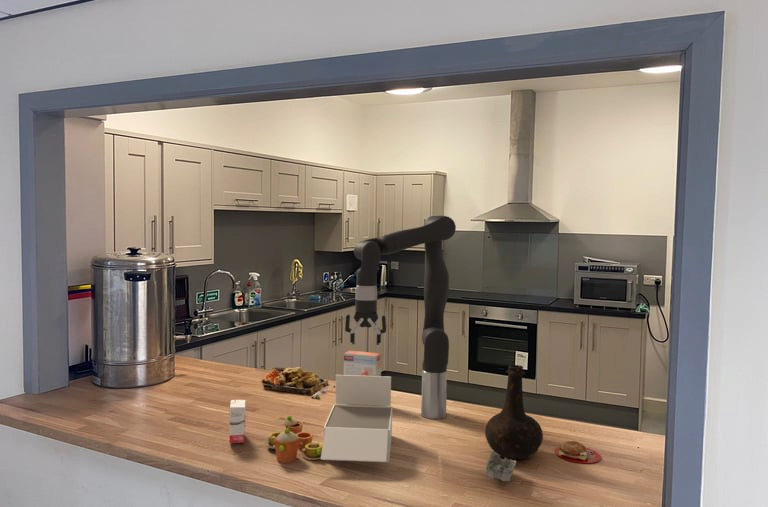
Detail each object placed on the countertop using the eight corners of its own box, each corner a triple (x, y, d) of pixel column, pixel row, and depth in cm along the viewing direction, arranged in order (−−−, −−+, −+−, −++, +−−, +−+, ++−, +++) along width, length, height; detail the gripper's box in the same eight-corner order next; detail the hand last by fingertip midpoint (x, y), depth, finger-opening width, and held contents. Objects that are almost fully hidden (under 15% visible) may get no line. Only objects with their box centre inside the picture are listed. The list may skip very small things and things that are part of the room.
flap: (390, 405, 189) (391, 395, 197) (391, 377, 187) (391, 368, 195) (335, 403, 190) (338, 393, 198) (335, 375, 188) (338, 366, 196)
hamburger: (598, 467, 168) (599, 448, 168) (551, 458, 175) (551, 439, 175) (603, 451, 181) (604, 433, 181) (558, 443, 187) (559, 425, 187)
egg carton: (491, 463, 167) (492, 450, 167) (516, 470, 164) (518, 456, 164) (482, 476, 157) (484, 462, 157) (509, 484, 154) (511, 469, 154)
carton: (391, 435, 190) (392, 406, 189) (388, 475, 159) (388, 440, 159) (333, 433, 191) (333, 404, 190) (318, 472, 160) (318, 438, 160)
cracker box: (380, 404, 223) (382, 353, 222) (375, 409, 217) (376, 356, 216) (349, 400, 228) (350, 349, 227) (342, 404, 222) (343, 352, 221)
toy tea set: (330, 460, 169) (330, 429, 169) (280, 469, 162) (280, 437, 162) (302, 431, 192) (302, 404, 192) (257, 438, 185) (257, 410, 185)
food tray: (243, 391, 238) (243, 367, 238) (274, 377, 262) (274, 354, 262) (316, 402, 226) (317, 376, 226) (342, 386, 250) (343, 362, 250)
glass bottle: (509, 469, 165) (512, 376, 163) (473, 448, 180) (475, 362, 179) (554, 459, 173) (557, 370, 172) (515, 439, 189) (518, 357, 187)
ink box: (244, 442, 181) (245, 406, 180) (229, 443, 180) (229, 407, 179) (245, 433, 189) (245, 398, 189) (230, 434, 188) (230, 399, 188)
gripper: (387, 297, 198) (386, 342, 199) (347, 296, 199) (346, 341, 199) (386, 300, 191) (385, 347, 191) (344, 299, 191) (344, 346, 192)
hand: (365, 344), depth 195 cm, fingers open, 8 cm apart
